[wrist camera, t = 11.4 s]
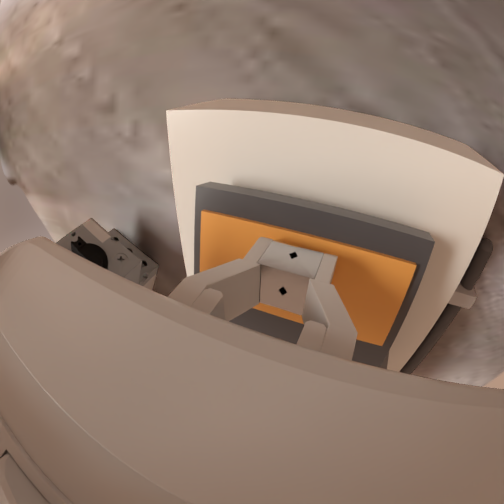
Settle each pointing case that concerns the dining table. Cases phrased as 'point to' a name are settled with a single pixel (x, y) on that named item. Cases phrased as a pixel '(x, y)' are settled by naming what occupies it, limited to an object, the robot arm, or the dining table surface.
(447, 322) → the dark grey piece
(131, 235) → the dining table surface
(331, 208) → the block
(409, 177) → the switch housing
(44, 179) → the dining table surface
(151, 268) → the circuit breaker
